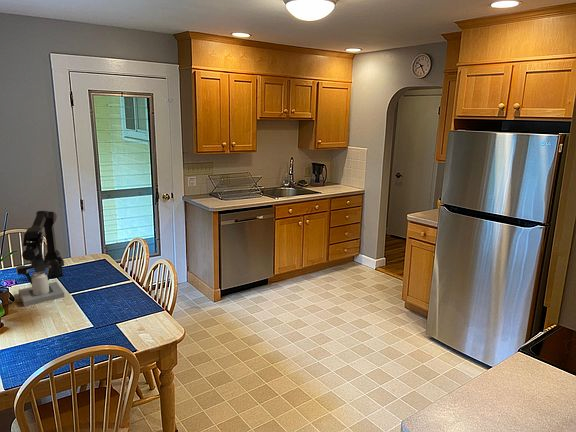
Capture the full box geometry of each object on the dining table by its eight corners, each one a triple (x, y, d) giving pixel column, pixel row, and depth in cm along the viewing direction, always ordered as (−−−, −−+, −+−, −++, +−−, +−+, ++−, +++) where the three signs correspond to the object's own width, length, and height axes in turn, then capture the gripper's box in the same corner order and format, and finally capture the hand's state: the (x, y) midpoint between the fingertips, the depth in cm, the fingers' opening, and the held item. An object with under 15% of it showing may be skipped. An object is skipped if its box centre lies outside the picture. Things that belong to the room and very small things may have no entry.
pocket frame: (56, 285, 231) (56, 281, 230) (64, 297, 217) (64, 292, 217) (19, 294, 219) (18, 289, 219) (24, 306, 206) (24, 301, 205)
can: (36, 298, 213) (33, 276, 210) (30, 294, 217) (27, 272, 214) (52, 293, 219) (49, 272, 216) (45, 289, 223) (43, 268, 220)
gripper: (17, 262, 201) (21, 291, 205) (59, 254, 212) (63, 282, 216) (13, 255, 209) (18, 284, 213) (55, 248, 221) (58, 276, 225)
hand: (39, 282), depth 216 cm, fingers closed on can, 7 cm apart
